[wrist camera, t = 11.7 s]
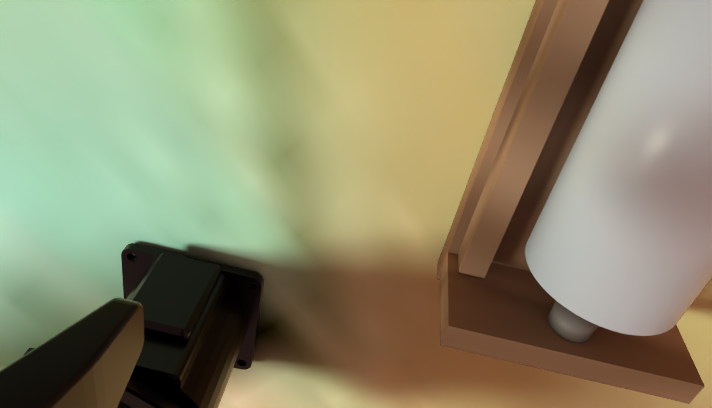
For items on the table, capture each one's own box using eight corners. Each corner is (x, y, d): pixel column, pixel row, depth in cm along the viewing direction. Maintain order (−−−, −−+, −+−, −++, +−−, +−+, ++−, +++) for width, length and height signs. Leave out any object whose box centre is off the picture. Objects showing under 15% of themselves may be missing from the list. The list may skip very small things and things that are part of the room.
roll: (649, 246, 21) (704, 354, 17) (515, 215, 21) (535, 316, 17) (833, -37, 15) (988, 19, 11) (649, -81, 15) (732, -42, 11)
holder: (641, 311, 24) (681, 412, 20) (437, 263, 24) (436, 354, 20) (994, -191, 14) (1223, -195, 10) (639, -277, 14) (722, -318, 10)
